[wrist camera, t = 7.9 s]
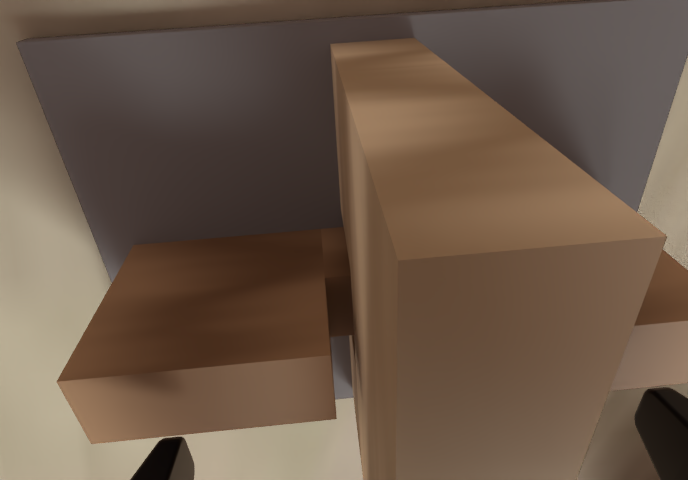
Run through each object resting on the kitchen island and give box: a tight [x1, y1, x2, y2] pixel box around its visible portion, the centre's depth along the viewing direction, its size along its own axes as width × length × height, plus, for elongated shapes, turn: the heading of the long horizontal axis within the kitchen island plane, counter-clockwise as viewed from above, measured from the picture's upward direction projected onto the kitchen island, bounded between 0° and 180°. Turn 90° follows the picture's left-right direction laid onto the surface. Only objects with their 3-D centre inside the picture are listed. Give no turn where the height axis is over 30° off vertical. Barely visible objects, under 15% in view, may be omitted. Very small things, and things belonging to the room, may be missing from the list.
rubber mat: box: [16, 0, 688, 399], centre depth 14 cm, size 16×13×1 cm
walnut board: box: [57, 227, 688, 444], centre depth 12 cm, size 14×2×5 cm, turn 93°
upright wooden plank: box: [330, 38, 667, 480], centre depth 10 cm, size 2×12×9 cm, turn 3°
